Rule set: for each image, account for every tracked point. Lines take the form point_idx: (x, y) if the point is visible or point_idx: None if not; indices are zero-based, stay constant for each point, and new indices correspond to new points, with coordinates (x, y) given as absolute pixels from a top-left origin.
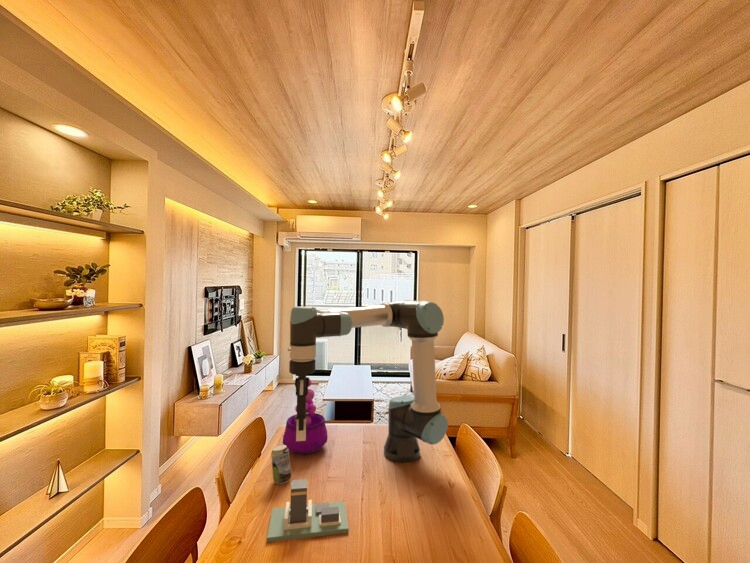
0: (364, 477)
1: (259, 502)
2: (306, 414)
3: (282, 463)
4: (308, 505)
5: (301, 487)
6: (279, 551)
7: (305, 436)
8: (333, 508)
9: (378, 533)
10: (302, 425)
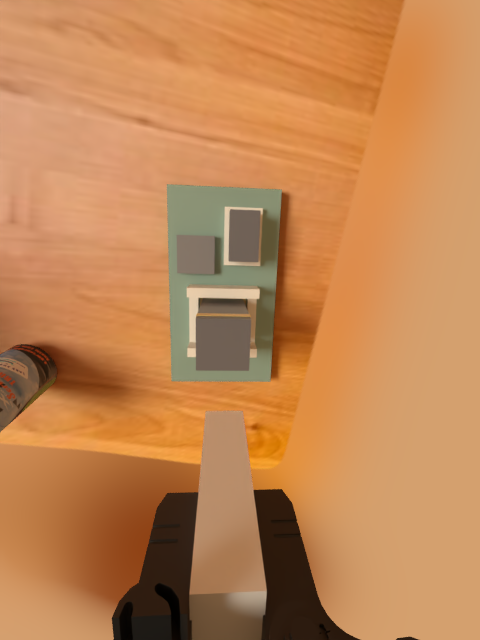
0: (16, 83)
1: (129, 410)
2: (186, 623)
3: (14, 394)
4: (213, 297)
5: (245, 337)
6: (299, 350)
7: (244, 429)
8: (236, 225)
9: (299, 106)
10: (298, 545)
